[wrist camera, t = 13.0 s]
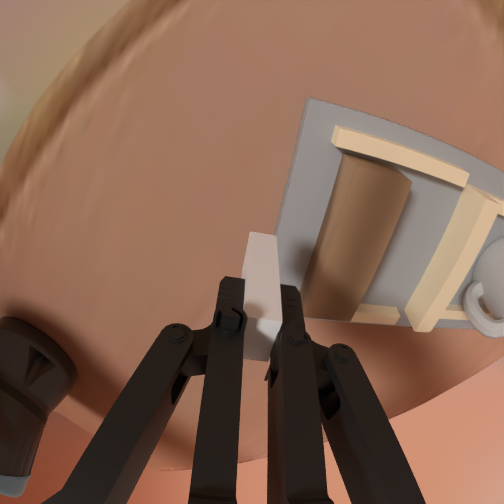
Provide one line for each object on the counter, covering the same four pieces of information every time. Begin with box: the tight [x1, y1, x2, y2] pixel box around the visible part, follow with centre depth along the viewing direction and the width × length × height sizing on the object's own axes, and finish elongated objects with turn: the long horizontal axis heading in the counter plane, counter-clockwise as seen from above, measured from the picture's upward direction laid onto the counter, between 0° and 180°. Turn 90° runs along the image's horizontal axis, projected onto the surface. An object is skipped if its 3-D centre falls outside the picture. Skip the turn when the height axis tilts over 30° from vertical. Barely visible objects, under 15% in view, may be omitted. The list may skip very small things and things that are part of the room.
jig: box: [274, 97, 504, 332], centre depth 23 cm, size 30×18×4 cm, turn 80°
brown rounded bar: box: [299, 152, 412, 322], centre depth 21 cm, size 4×12×3 cm, turn 170°
